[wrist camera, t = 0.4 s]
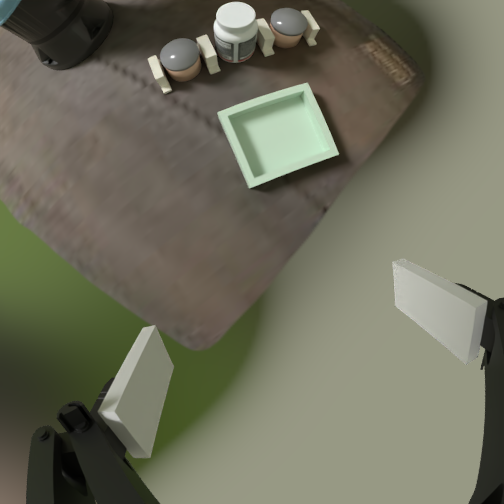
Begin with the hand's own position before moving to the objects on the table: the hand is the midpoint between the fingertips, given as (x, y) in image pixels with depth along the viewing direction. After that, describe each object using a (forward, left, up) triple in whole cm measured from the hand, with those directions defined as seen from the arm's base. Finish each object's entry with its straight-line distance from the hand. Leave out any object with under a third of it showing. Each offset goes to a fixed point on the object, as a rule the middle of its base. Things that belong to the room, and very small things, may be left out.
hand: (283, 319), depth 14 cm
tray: (-12, +9, -27) cm, 30 cm away
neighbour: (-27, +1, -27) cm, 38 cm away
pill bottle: (-27, +9, -27) cm, 39 cm away
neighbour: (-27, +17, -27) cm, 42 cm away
